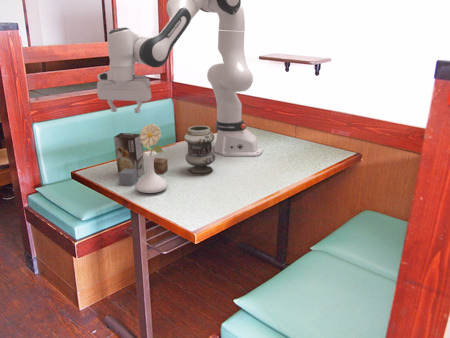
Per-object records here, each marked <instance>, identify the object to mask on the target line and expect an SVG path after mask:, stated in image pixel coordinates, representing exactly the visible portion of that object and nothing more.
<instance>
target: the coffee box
mask: <svg viewBox="0 0 450 338" xmlns="http://www.w3.org/2000/svg"><path fill="white" fill-rule="evenodd" d="M113 141H114V151H115V158H116V166H117V175H118V177H119V172H121V171H122V170H123V169H124V168H127V169H137V176H138V178H141V176H144V174H145V171H146V169H145V162H144V159H145V158H144V156H143V155H142V154H143V153H144V150H143V149H144V148H143V144H142V143H141V139H140V133H128V132H120V133H118V134H117V135H115V136H114V137H113Z"/></svg>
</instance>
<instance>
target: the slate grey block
mask: <svg viewBox="0 0 450 338" xmlns="http://www.w3.org/2000/svg"><path fill="white" fill-rule="evenodd" d="M118 179H119V186H123V187H125V186H127V187H133V186H136V184H137V183H138V181H139V179H138V176H137V169H127V168H124V169H123V170H122V171H121V172H119V176H118Z"/></svg>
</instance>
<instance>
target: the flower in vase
mask: <svg viewBox="0 0 450 338" xmlns="http://www.w3.org/2000/svg"><path fill="white" fill-rule="evenodd" d="M140 131H141V132H140V133H139V134H140V139H141V143H142V147H144V148H146V149H148V151H145V152H144V151H143V154H142V155H143V158H144V159H145V162H146V166H147V171H146V172H147V173H146V174H145V175H143V176H142V177H141V178H140V179H138V182H137V183H136V184H135V188H136V190H137V191H138V192H140V193H146V194H155V193H160V192H162V191H164V190H166V189H167V188H168V185H169V184H168V182H167V180H166V179H165V178H164V177H162V176H160V175H159V174H156V173H155V172H154V159H155V158H156V156H157V154H159V153H164V150H163V149H162V147H161V146H160V145H159V144H158V145H157V143H158V141H160V139H161V137H162V134H161V133H162V131H161V128H160V127H159V126H158V125H156V124H154V123H151V124H150V123H148V124H147V125H145V126H143V128H142V129H141V130H140ZM152 146H153V147H152ZM151 147H152V148H151Z"/></svg>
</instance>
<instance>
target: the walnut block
mask: <svg viewBox="0 0 450 338" xmlns="http://www.w3.org/2000/svg"><path fill="white" fill-rule="evenodd" d="M168 166H169V165H168V158H165V157H164V158H163V157H155V158H154V172H155V173H156V174H157V175H164V174H165V173H166V172H167V171H168Z"/></svg>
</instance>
